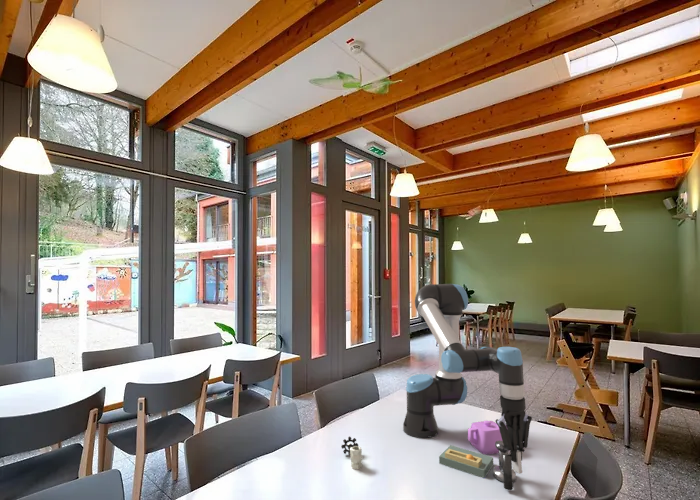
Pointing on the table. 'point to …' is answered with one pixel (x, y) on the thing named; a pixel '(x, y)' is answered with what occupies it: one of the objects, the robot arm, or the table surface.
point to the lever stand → (466, 461)
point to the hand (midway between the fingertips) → (517, 471)
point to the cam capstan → (504, 467)
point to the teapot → (484, 436)
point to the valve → (353, 453)
